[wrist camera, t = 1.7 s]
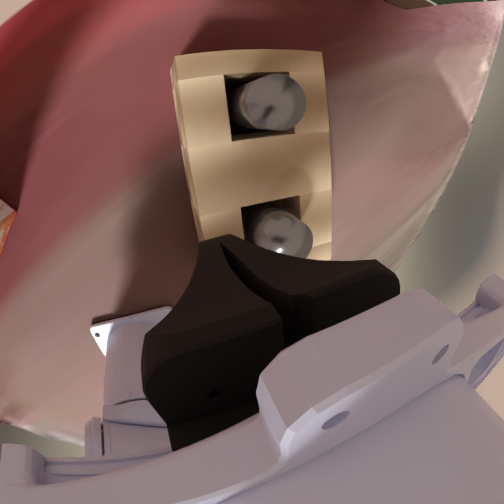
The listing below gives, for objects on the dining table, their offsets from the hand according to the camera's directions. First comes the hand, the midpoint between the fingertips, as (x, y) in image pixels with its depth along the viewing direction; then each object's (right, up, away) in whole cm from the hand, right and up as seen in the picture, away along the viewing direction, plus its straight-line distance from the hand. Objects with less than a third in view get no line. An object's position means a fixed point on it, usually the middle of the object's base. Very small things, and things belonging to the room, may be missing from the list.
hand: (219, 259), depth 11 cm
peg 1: (+1, +10, +5) cm, 11 cm away
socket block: (+1, +7, +9) cm, 11 cm away
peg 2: (+2, +3, +9) cm, 9 cm away
